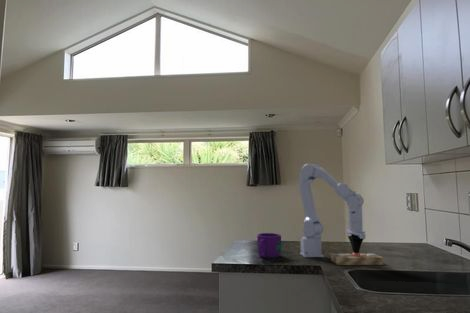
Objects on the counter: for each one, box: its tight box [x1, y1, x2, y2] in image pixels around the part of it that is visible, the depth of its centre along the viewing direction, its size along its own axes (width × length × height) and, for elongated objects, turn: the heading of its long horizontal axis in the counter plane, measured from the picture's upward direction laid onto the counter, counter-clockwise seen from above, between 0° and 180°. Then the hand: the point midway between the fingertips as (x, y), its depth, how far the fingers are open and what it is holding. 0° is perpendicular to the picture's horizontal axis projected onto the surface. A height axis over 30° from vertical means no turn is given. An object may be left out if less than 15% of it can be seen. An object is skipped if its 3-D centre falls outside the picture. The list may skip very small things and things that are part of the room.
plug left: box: [337, 253, 347, 257], centre depth 146 cm, size 3×3×3 cm
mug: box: [256, 232, 282, 259], centre depth 156 cm, size 17×11×10 cm, turn 152°
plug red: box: [352, 251, 361, 257], centre depth 146 cm, size 3×3×3 cm
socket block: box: [330, 252, 384, 266], centre depth 146 cm, size 20×8×3 cm, turn 94°
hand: (356, 252), depth 147 cm, fingers closed
